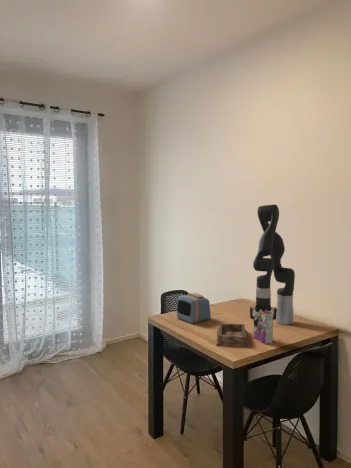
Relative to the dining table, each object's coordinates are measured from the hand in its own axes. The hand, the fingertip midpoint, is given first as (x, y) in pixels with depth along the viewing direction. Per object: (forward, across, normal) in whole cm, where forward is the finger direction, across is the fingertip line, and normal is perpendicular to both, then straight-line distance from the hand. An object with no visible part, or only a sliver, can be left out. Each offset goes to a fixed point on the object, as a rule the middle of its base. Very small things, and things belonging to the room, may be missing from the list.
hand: (262, 326), depth 205 cm
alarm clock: (+8, +39, -34) cm, 52 cm away
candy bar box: (+8, 0, 0) cm, 8 cm away
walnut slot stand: (+7, +16, -2) cm, 18 cm away
